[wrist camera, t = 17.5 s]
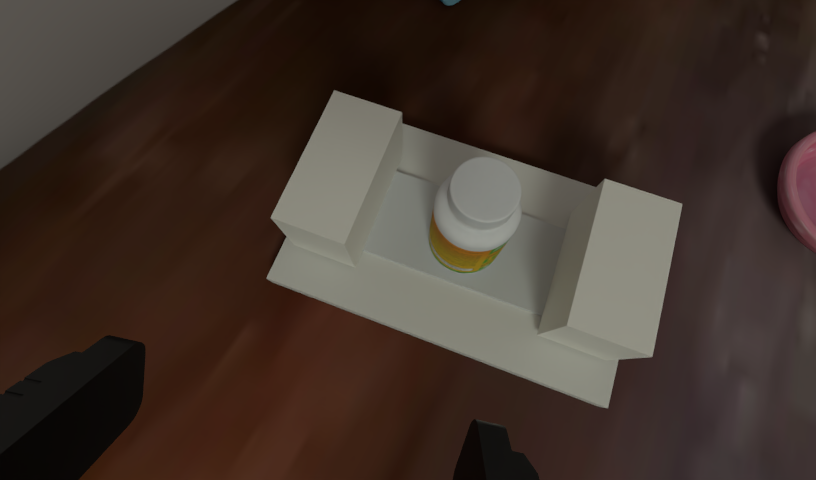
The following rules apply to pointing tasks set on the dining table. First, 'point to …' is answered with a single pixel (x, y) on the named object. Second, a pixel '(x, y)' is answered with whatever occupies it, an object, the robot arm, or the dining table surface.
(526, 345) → the rail panel
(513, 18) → the dining table surface
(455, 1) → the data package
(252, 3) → the dining table surface
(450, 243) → the supplement bottle
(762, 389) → the dining table surface
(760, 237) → the dining table surface
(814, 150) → the saucer
